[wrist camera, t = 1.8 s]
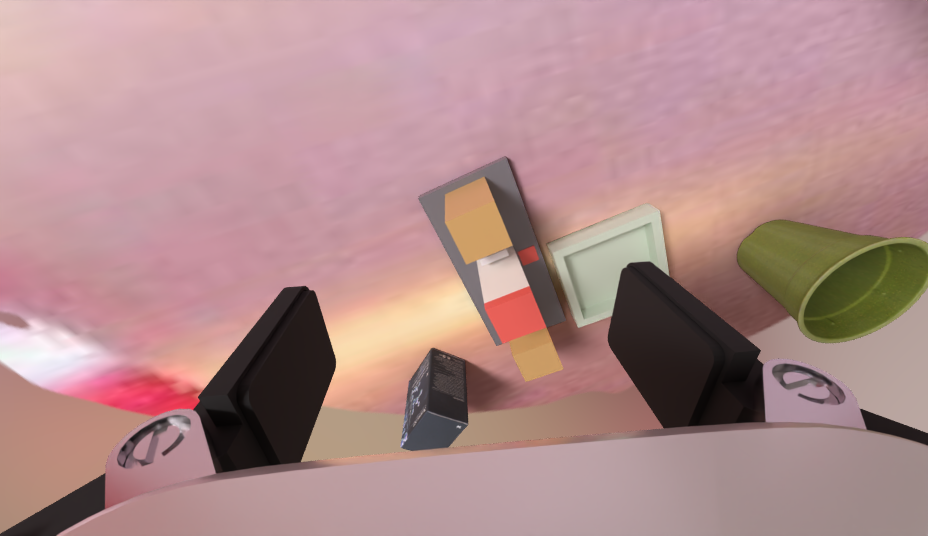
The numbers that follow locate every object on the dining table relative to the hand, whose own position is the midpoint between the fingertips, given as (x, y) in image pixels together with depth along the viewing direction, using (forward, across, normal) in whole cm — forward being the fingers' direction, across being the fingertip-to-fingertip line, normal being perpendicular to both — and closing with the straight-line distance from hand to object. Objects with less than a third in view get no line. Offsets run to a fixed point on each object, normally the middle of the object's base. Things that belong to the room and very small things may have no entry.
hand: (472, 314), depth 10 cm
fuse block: (+27, -5, +13) cm, 30 cm away
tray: (+27, -19, +14) cm, 36 cm away
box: (+28, +4, +30) cm, 41 cm away
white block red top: (+26, -5, +13) cm, 30 cm away
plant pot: (+27, -39, +12) cm, 49 cm away
